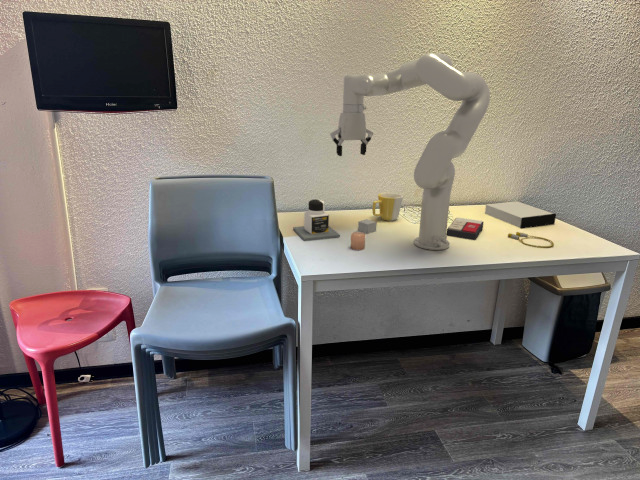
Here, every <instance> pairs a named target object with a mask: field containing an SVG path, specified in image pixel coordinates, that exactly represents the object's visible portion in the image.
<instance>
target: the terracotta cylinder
mask: <svg viewBox="0 0 640 480" xmlns="http://www.w3.org/2000/svg"><path fill="white" fill-rule="evenodd" d="M365 248H366V233H363V232H360V231H356V232H355V231H354V232H351V234H350V249H352V250H354V251H363V250H365Z"/></svg>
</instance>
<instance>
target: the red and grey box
mask: <svg viewBox="0 0 640 480" xmlns="http://www.w3.org/2000/svg"><path fill="white" fill-rule="evenodd" d="M483 229H484V221H482V220H478V219H472V218H464V217H457V216H456V217H455V218H454V219H453V220H452V222H451V223H450V225H449V226H447V231H446V236H447V237H454V238H460V239H464V240H471V241H477V239H478V237H479V235H480V234H481V232H482V231H484V230H483Z"/></svg>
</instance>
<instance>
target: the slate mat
mask: <svg viewBox="0 0 640 480" xmlns="http://www.w3.org/2000/svg"><path fill="white" fill-rule="evenodd" d="M292 230H293V231H294V232H295V233H296V234H297V236H299V237H300V238H301V240H303V242H309V241H318V240H319V241H320V240H328V239H338V238H341V235H340V233H338V232H337V231H336V230H335V229H333V227H331V226H330V225H329V230H328V232H327V233H320V234H313V235H312V234H310V233H309V232H307V231H306V230H305V229H304V225H302V226H293V229H292Z"/></svg>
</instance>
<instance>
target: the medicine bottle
mask: <svg viewBox="0 0 640 480" xmlns="http://www.w3.org/2000/svg"><path fill="white" fill-rule="evenodd" d="M325 205H326V203H325V200H322V199H311V200H309V201H308V210H307V211H304V213H303V215H304V216H303V218H304V220H303V226H304V229H305V230H306V231H307V232H309V233H310V234H312V235H313V234H320V233H327V232H328V230H329V226H330V223H329V222H330V221H329V220H330V217H329V216H330V215H329V213H327V212H326V211H325V210H326V209H325V207H326V206H325Z"/></svg>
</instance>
